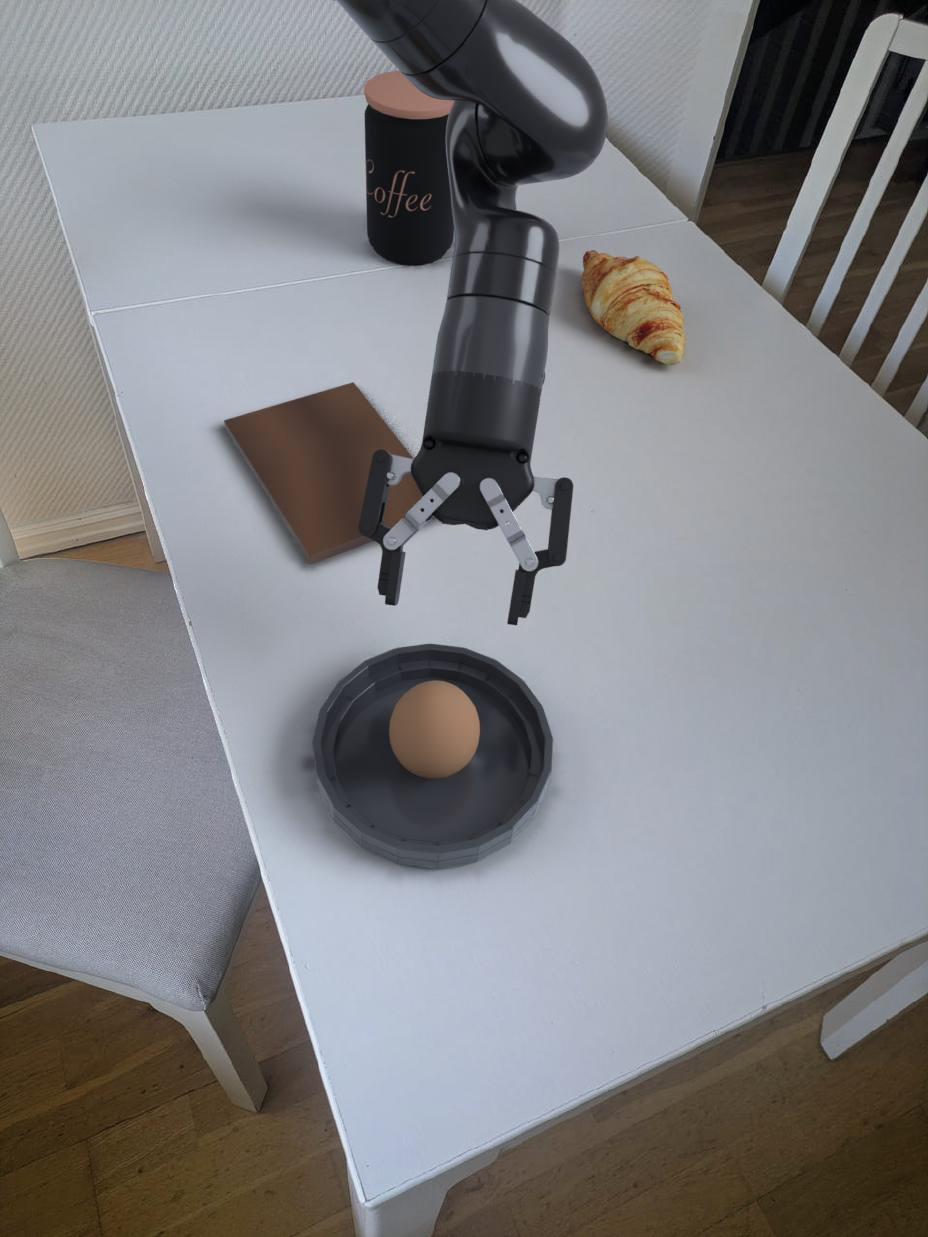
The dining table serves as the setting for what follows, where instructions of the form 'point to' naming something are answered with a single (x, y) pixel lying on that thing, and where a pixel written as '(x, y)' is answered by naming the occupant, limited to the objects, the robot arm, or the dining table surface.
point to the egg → (434, 729)
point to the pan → (436, 807)
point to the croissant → (634, 304)
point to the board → (321, 466)
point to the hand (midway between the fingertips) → (451, 614)
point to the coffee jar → (406, 171)
